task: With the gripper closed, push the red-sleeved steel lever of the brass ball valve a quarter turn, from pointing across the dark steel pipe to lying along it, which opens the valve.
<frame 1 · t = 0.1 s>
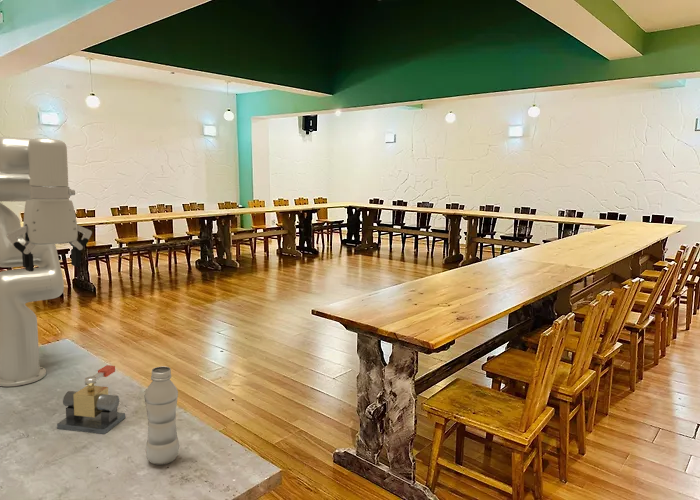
hand: (53, 268, 113), 37 cm above the table, tool pointing down, fingers open, 9 cm apart
lever: (99, 375, 118), point 11 cm above the table, hinge at 90.0°
plastic bottle: (162, 460, 102), on the table
valve: (92, 423, 116), on the table
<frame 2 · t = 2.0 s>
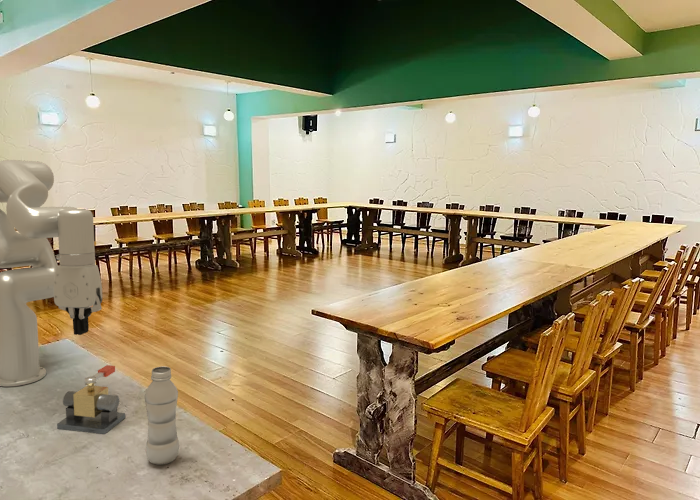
hand: (81, 333, 120), 20 cm above the table, tool pointing down, fingers closed
nothing on the table moved.
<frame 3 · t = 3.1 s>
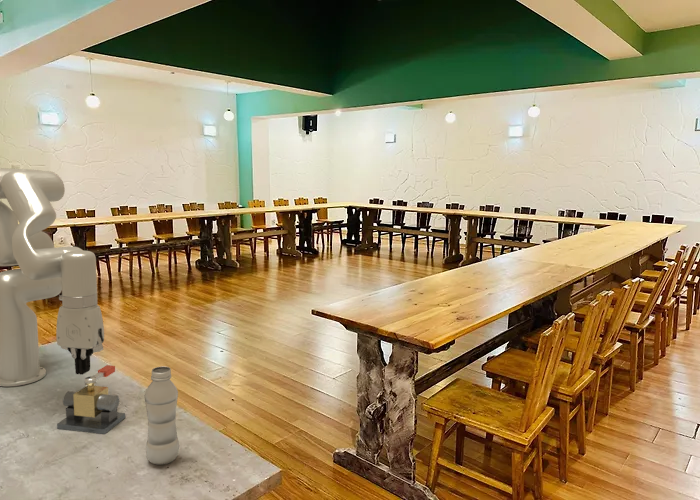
hand: (82, 372, 121), 10 cm above the table, tool pointing down, fingers closed
nothing on the table moved.
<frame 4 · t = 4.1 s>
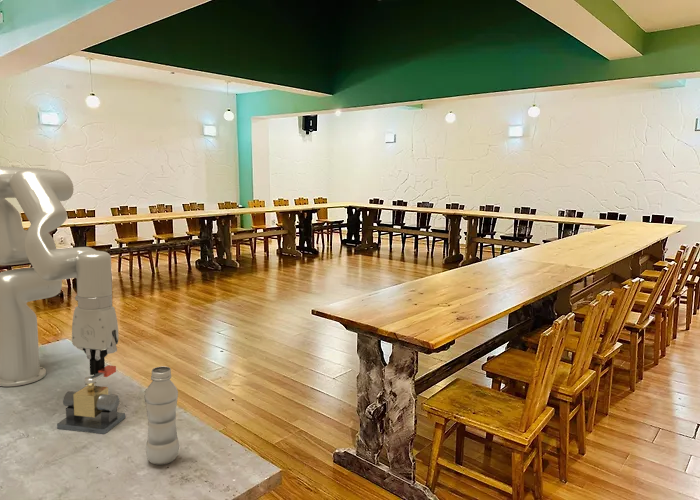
hand: (97, 373, 121), 10 cm above the table, tool pointing down, fingers closed
lever: (100, 375, 118), point 11 cm above the table, hinge at 88.0°, touching gripper
everything else where it was.
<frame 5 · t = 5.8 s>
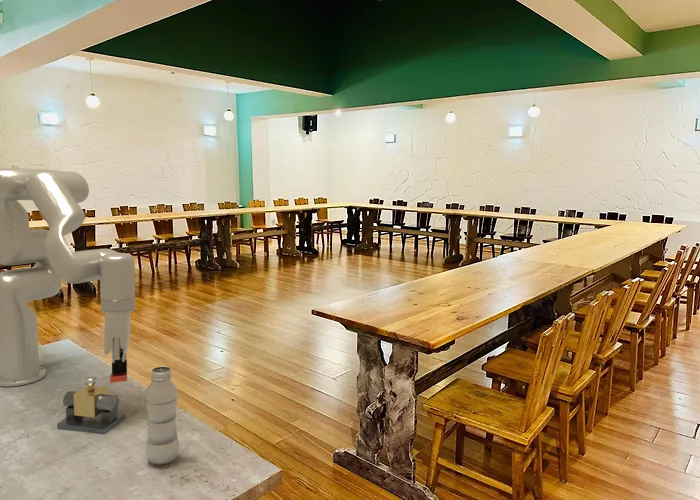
hand: (119, 376, 120), 10 cm above the table, tool pointing down, fingers closed
lever: (106, 378, 116), point 11 cm above the table, hinge at 32.1°, touching gripper
everything else where it was.
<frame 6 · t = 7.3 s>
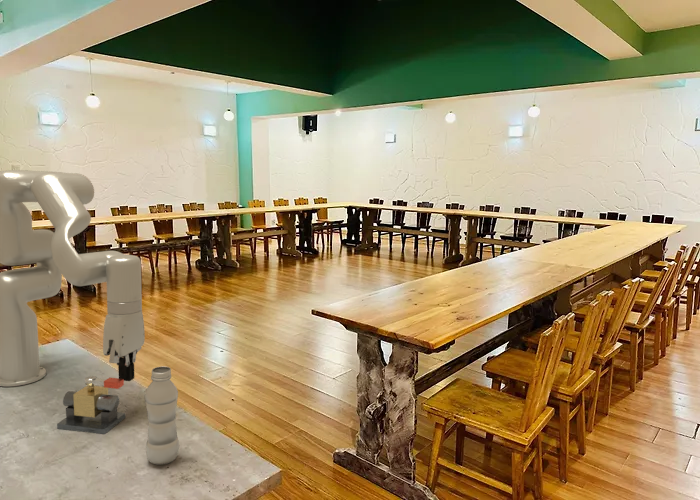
hand: (126, 379, 119), 10 cm above the table, tool pointing down, fingers closed
lever: (103, 382, 114), point 11 cm above the table, hinge at -1.2°
everything else where it was.
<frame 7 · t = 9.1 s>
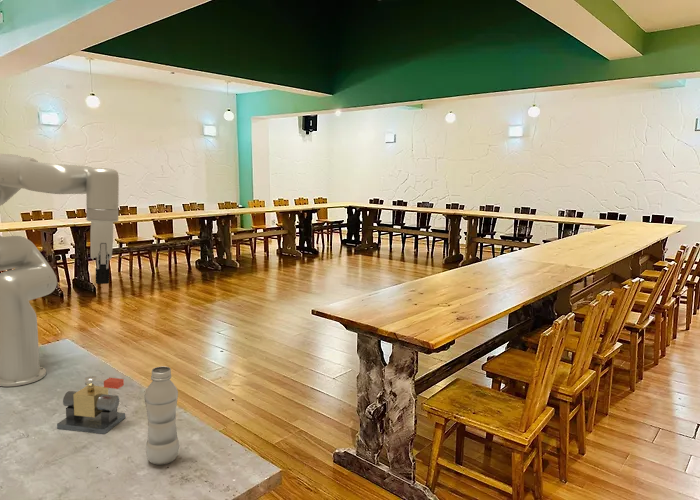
hand: (102, 282, 131), 30 cm above the table, tool pointing down, fingers closed
nothing on the table moved.
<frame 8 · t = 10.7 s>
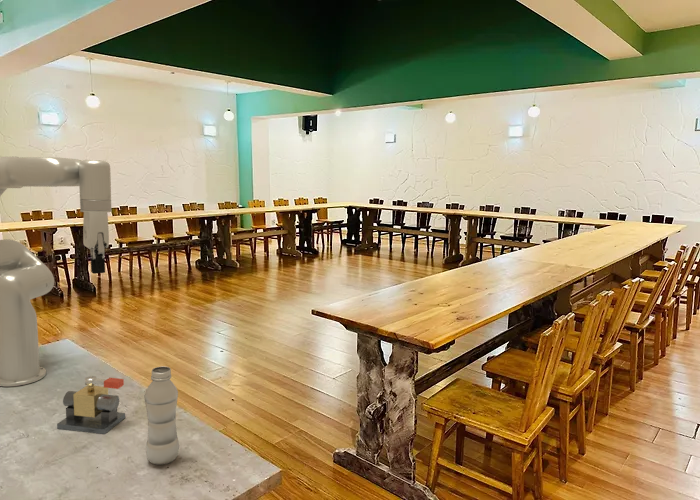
hand: (98, 272, 134), 32 cm above the table, tool pointing down, fingers closed
nothing on the table moved.
at the end: lever at -1° (first picture: +90°); plastic bottle moved 0.2 cm from its start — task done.
